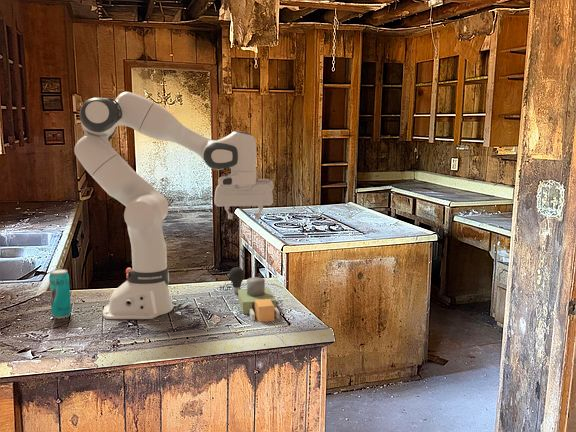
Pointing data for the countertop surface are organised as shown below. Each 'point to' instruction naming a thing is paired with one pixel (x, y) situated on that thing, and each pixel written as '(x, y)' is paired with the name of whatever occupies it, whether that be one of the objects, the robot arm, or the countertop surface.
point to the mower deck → (255, 296)
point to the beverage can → (60, 293)
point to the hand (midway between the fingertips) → (243, 218)
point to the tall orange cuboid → (264, 310)
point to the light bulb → (236, 278)
